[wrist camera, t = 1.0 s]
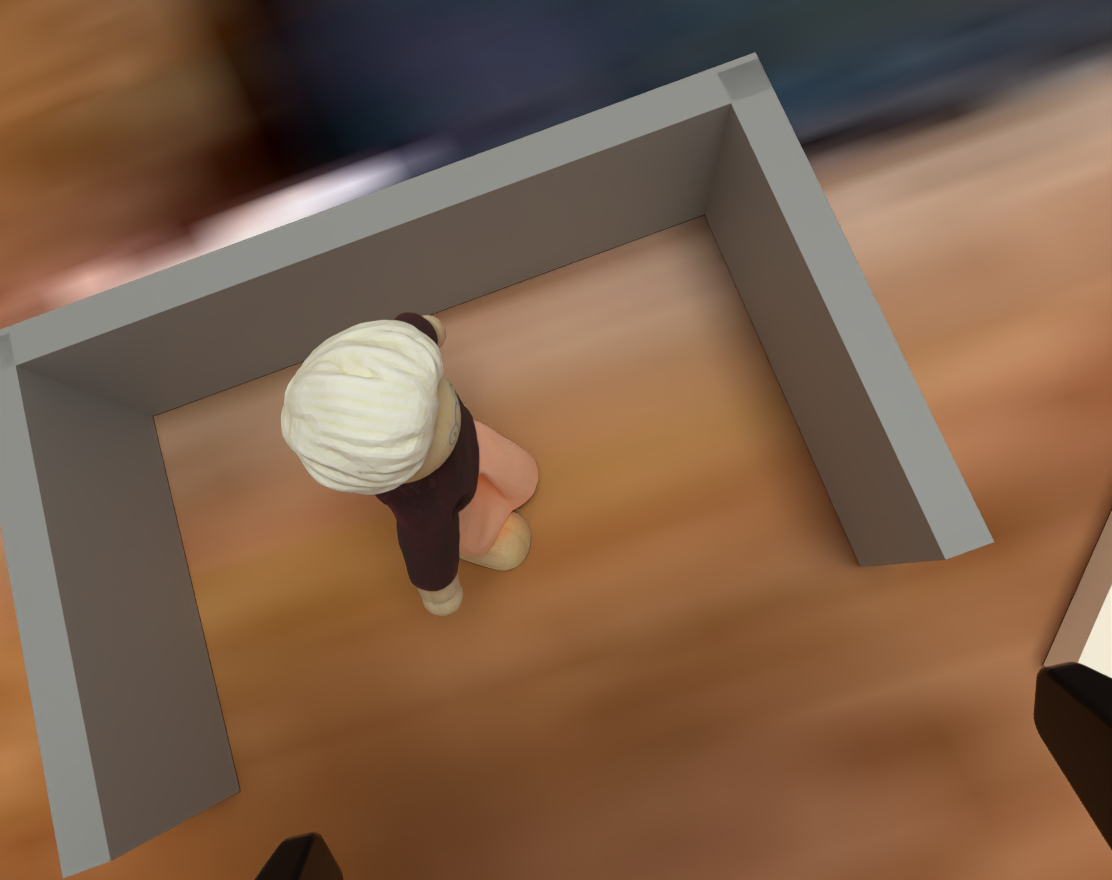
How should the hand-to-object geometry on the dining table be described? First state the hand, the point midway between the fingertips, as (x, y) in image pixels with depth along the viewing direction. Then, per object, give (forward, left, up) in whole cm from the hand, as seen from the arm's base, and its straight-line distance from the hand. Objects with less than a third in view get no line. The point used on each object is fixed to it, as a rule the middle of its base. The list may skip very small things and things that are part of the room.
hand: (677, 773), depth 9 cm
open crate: (-1, +7, -14) cm, 16 cm away
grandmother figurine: (-1, +7, -14) cm, 16 cm away
